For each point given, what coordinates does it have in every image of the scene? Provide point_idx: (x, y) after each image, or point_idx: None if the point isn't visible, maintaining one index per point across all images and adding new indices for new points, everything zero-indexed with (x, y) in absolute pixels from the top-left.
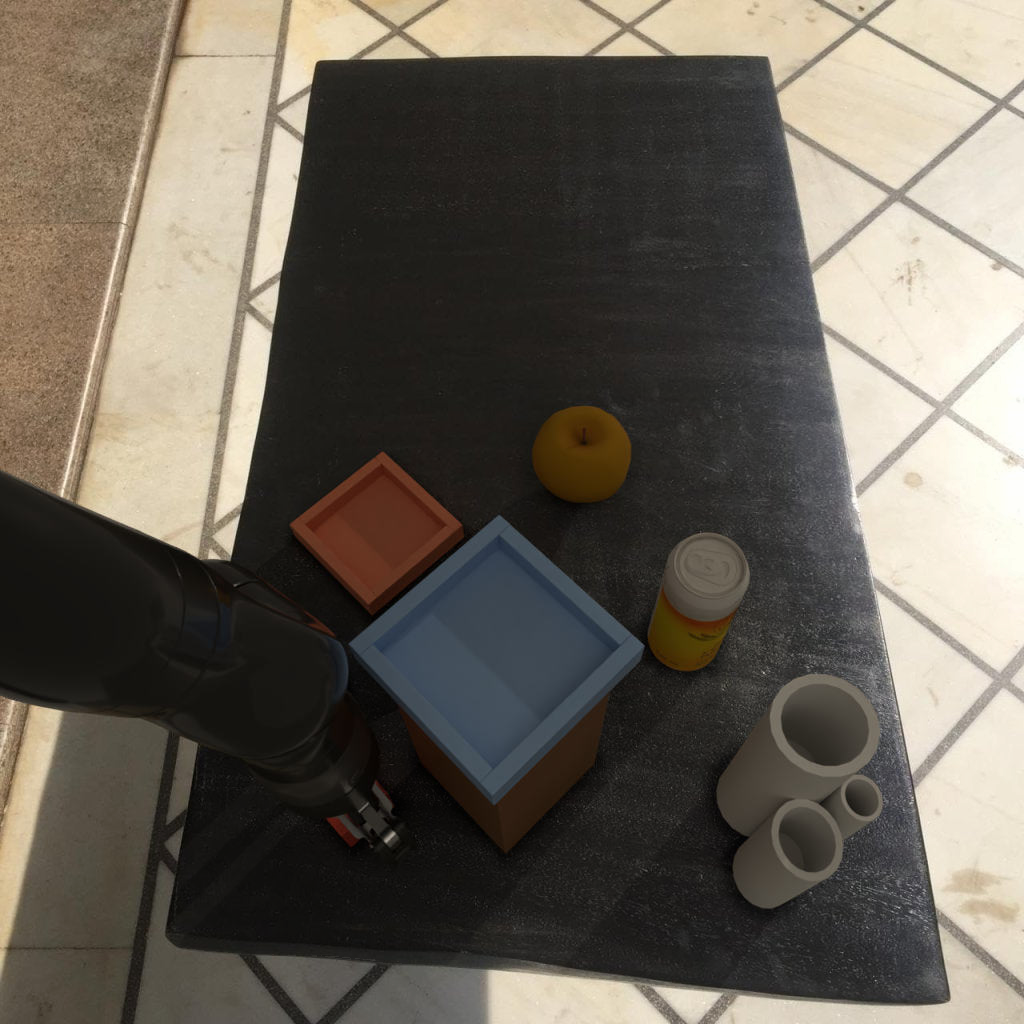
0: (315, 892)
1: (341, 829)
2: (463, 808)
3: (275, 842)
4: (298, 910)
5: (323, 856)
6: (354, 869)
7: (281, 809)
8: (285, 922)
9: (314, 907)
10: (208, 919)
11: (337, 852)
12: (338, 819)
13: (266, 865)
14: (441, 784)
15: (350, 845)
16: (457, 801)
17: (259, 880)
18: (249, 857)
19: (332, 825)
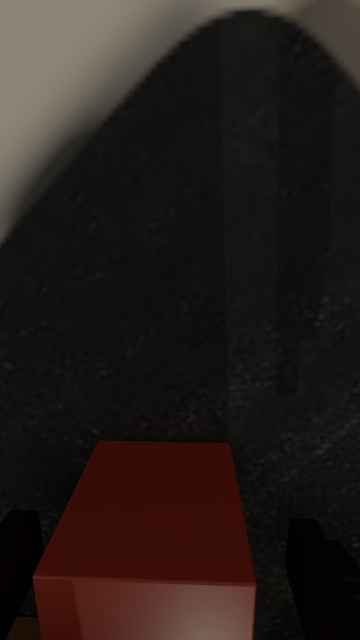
0: (70, 324)
1: (50, 592)
2: (16, 617)
3: (232, 326)
4: (62, 269)
5: (125, 386)
6: (56, 415)
7: (283, 383)
8: (58, 227)
9: (43, 302)
10: (205, 60)
11: (110, 412)
12: (88, 602)
13: (204, 276)
14: None
15: (93, 452)
16: (29, 626)
17: (187, 239)
18: (252, 255)
19: (85, 579)
